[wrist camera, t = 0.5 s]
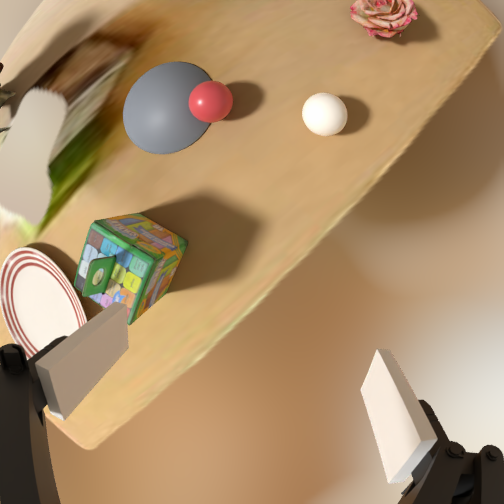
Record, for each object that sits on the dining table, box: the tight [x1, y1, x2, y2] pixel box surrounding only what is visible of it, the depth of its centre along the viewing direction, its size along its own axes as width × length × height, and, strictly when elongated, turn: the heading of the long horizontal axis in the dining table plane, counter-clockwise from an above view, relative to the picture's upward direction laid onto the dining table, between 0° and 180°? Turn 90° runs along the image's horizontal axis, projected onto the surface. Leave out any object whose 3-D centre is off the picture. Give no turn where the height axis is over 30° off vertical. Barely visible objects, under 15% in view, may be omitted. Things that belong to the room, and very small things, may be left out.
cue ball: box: [302, 93, 347, 136], centre depth 32 cm, size 6×6×6 cm
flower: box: [350, 0, 420, 37], centre depth 27 cm, size 10×9×8 cm
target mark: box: [123, 62, 211, 154], centre depth 36 cm, size 14×14×1 cm
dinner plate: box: [0, 247, 87, 359], centre depth 45 cm, size 28×27×3 cm
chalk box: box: [74, 213, 188, 325], centre depth 34 cm, size 9×9×15 cm
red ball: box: [189, 81, 233, 123], centre depth 33 cm, size 6×6×6 cm
